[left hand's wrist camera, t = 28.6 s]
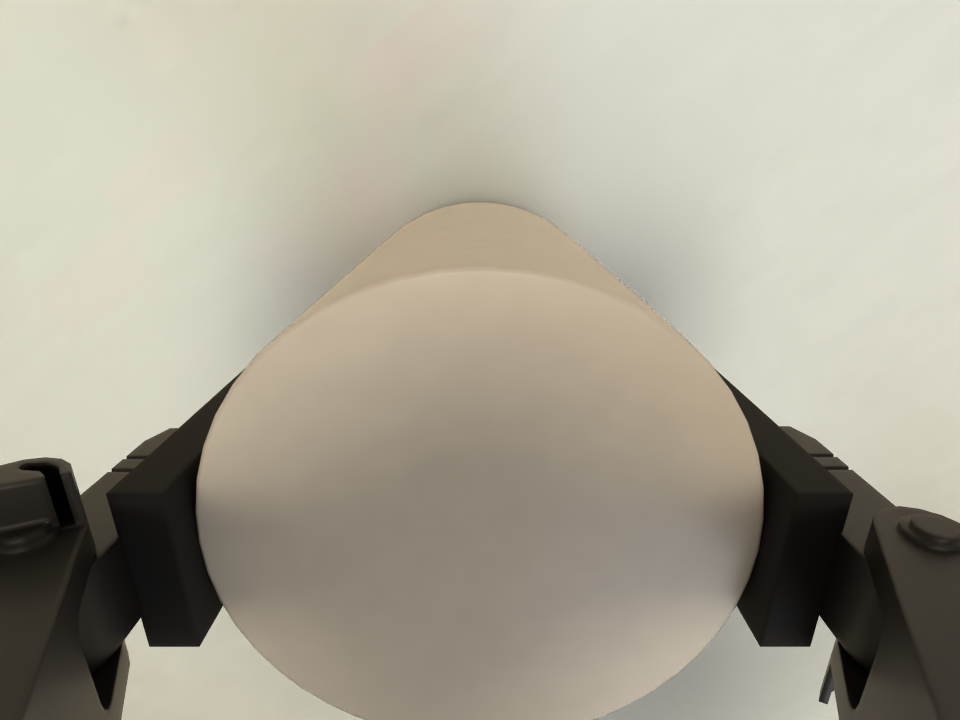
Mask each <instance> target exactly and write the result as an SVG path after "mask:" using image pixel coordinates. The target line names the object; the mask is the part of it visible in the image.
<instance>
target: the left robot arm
mask: <svg viewBox="0 0 960 720" xmlns="http://www.w3.org/2000/svg"><path fill="white" fill-rule="evenodd" d="M245 369H246V368H245ZM245 369H244V370H245ZM244 370H243V371H244ZM243 371H242V372H243ZM716 371H717V370H716ZM242 372H241V373H240V374H239V375H237V376H236V377H235V378H234V379H233V380H232V381H231V382H230V383H229V384H227V385H226V386H225V387H224V388H223V389H222V390H221V391H220V392H219V393H217V394H216V395H215V396H214V397H213V398H212V399H211V400H210V401H209V402H207V403H206V404H205V405H204V406H203V407H202V408H201V409H200V410H199V411H197V412H196V413H195V414H194V415H193V416H192V417H191V418H190V419H189V420H187V421H186V422H185V423H184V424H183V425H182V426H181V427H180V428H170V429H168V430H166V431H164V432H162V433H160V434H158V435H156V436H154V437H152V438H150V439H148V440H146V441H144V442H143V443H142V444H141V445H140V446H138V447H137V448H136V449H135V450H134V451H132V452H131V453H130V454H129V455H128V456H127V459H123V460H122V461H121V462H119V463H118V464H117V465H116V466H115V467H113V468H112V472H108V473H106V474H105V475H104V476H103V477H102V478H100V479H99V480H98V481H97V482H96V483H95V484H93V485H92V486H91V487H90V488H89V489H87V490H86V491H85V492H84V493H83V494H82V495H80V493H79V490H78V487H77V483H76V480H75V477H74V474H73V470H72V467H71V464H70V463H68V462H66V461H64V460H63V459H57V458H46V457H45V458H36V459H27V460H21V461H17V462H13V463H9V464H5V465H1V466H0V720H121V717H122V710H123V704H124V698H125V691H126V685H127V679H128V672H129V666H130V662H129V655H128V650H127V647H126V644H125V641H124V640H125V638H126V637H127V635H128V634H129V633H130V631H131V630H132V629H133V627H134V626H135V625H136V623H137V622H138V621H139V619H140V618H141V619H142V622H143V626H144V629H145V633H146V636H147V640H148V643H149V647H199V646H200V645H201V643H202V641H203V639H204V638H205V636H206V634H207V632H208V631H209V629H210V627H211V626H212V624H213V622H214V620H215V619H216V617H217V615H218V613H219V612H220V610H221V608H222V606H223V604H222V602H221V601H220V599H219V597H218V595H217V592H216V590H215V588H214V586H213V583H212V581H211V579H210V577H209V575H208V572H207V569H206V565H205V562H204V558H203V555H202V551H201V547H200V544H199V537H198V529H197V521H196V485H197V475H198V470H199V465H200V461H201V456H202V451H203V446H204V443H205V441H206V438H207V435H208V433H209V430H210V427H211V425H212V422H213V420H214V417H215V414H216V413H217V411H218V409H219V407H220V406H221V404H222V402H223V400H224V399H225V397H226V395H227V394H228V392H229V390H230V388H231V387H232V385H233V383H234V382H235V381H236V380H237V378H238V377H239V376H240V375H241V374H242ZM717 373H718V374H719V375H720V377H721V378H722V379H723V381H724V382H725V383H726V385H727V386H728V387H729V389H730V390H731V392H732V394H733V395H734V397H735V399H736V401H737V403H738V405H739V407H740V409H741V411H742V412H743V414H744V416H745V418H746V420H747V422H748V425H749V428H750V431H751V434H752V437H753V440H754V443H755V446H756V449H757V452H758V456H759V462H760V468H761V474H762V481H763V487H764V520H763V526H762V533H761V539H760V545H759V551H758V554H757V557H756V560H755V563H754V566H753V569H752V572H751V576H750V579H749V581H748V583H747V585H746V587H745V589H744V591H743V593H742V595H741V597H740V599H739V601H738V603H737V607H738V609H739V610H740V612H741V614H742V616H743V617H744V619H745V621H746V623H747V624H748V626H749V628H750V630H751V631H752V633H753V635H754V637H755V638H756V640H757V642H758V644H759V645H760V647H810V645H811V642H812V638H813V635H814V631H815V628H816V624H817V621H818V617H819V615H820V617H821V618H822V619H823V621H824V622H825V623H826V625H827V626H828V628H829V629H830V630H831V632H832V633H833V634H834V636H835V637H836V641H835V644H834V647H833V650H832V654H831V657H830V660H829V664H828V667H827V670H826V673H825V677H824V680H823V683H822V686H821V690H820V696H819V702H822V703H825V704H828V701H829V698H830V695H831V692H832V691H834V690H835V696H836V702H837V709H838V715H839V720H960V523H958V522H956V521H954V520H951V519H949V518H947V517H944V516H942V515H939V514H935V513H932V512H928V511H925V510H921V509H916V508H908V507H900V506H897V507H896V506H894V505H893V504H892V503H891V502H890V501H889V500H887V499H886V498H885V497H884V496H883V495H881V494H880V493H879V492H878V491H877V490H875V489H874V488H873V487H872V486H871V485H869V484H868V483H867V482H866V481H865V480H863V479H862V478H861V477H860V476H859V475H858V474H856V473H855V472H854V471H853V470H849V469H848V466H847V465H846V464H844V463H843V462H842V461H841V460H840V459H838V458H837V457H833V454H832V453H831V452H830V451H829V450H828V449H826V448H825V447H824V446H823V445H822V444H821V443H819V442H818V441H817V440H816V439H814V438H812V437H810V436H808V435H806V434H804V433H802V432H800V431H798V430H796V429H794V428H792V427H790V426H778V425H777V424H776V423H774V422H773V421H772V420H771V419H770V418H769V417H768V416H767V415H766V414H764V413H763V412H762V411H761V410H760V409H759V408H758V407H757V406H756V405H754V404H753V403H752V402H751V401H750V400H749V399H748V398H747V397H745V396H744V395H743V394H742V393H741V392H740V391H739V390H738V389H737V388H735V387H734V386H733V385H732V384H731V383H730V382H729V381H728V380H727V379H725V378H724V377H723V376H722V375H721V374H720V373H719V372H718V371H717Z"/></svg>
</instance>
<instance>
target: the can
mask: <svg viewBox="0 0 960 720" xmlns="http://www.w3.org/2000/svg"><path fill="white" fill-rule="evenodd" d="M763 520H764V487H763V481H762V474H761V468H760V462H759V456H758V452H757V449H756V446H755V443H754V440H753V437H752V434H751V431H750V428H749V425H748V422H747V420H746V418H745V416H744V414H743V412H742V411H741V409H740V407H739V405H738V403H737V401H736V399H735V397H734V395H733V394H732V392H731V390H730V389H729V387H728V386H727V385H726V383H725V382H724V381H723V379H722V378H721V377H720V375H719V374H718V373H717V371H716V370H715V369H714V367H713V366H712V365H711V363H710V362H709V361H708V360H707V359H706V358H705V357H704V356H703V355H702V354H701V353H700V352H699V351H698V350H697V349H696V348H695V347H694V346H693V345H692V344H691V343H690V342H688V341H687V340H686V339H685V338H684V337H683V336H682V335H681V334H680V333H679V332H678V331H677V330H676V329H674V328H673V327H672V326H671V325H670V324H669V323H668V322H666V321H665V320H664V319H663V318H662V317H661V316H659V315H658V314H657V313H656V312H655V311H654V310H653V309H651V308H650V307H649V306H648V305H647V304H646V303H645V302H643V301H642V300H641V299H640V298H639V297H638V296H637V295H635V294H634V293H633V292H632V291H631V290H630V289H629V288H627V287H626V286H625V285H624V284H623V283H622V282H621V281H619V280H618V279H617V278H616V277H615V276H614V275H613V274H611V273H610V272H609V271H608V270H607V269H606V268H604V267H603V266H602V265H601V264H600V263H599V262H598V261H596V260H595V259H594V258H593V257H592V256H591V255H590V254H588V253H587V252H586V251H585V250H584V249H583V248H582V247H580V246H579V245H578V244H577V243H576V242H575V241H574V240H572V239H571V238H570V237H569V236H568V235H567V234H566V233H564V232H563V231H562V230H560V229H559V228H557V227H556V226H555V225H553V224H552V223H551V222H549V221H547V220H545V219H543V218H541V217H539V216H538V215H536V214H533V213H531V212H528V211H525V210H523V209H520V208H517V207H512V206H508V205H504V204H497V203H485V202H476V203H462V204H457V205H451V206H446V207H443V208H440V209H437V210H434V211H431V212H428V213H426V214H424V215H422V216H420V217H418V218H416V219H414V220H412V221H411V222H409V223H408V224H406V225H405V226H403V227H402V228H401V229H399V230H398V231H397V232H395V233H394V234H393V235H392V236H391V237H390V238H389V239H387V240H386V241H385V242H384V243H383V244H382V245H381V246H379V247H378V248H377V249H376V250H375V251H374V252H373V253H371V254H370V255H369V256H368V257H367V258H366V259H365V260H363V261H362V262H361V263H360V264H359V265H358V266H357V267H355V268H354V269H353V270H352V271H351V272H350V273H349V274H347V275H346V276H345V277H344V278H343V279H342V280H341V281H339V282H338V283H337V284H336V285H335V286H334V287H333V288H331V289H330V290H329V291H328V292H327V293H326V294H325V295H323V296H322V297H321V298H320V299H319V300H318V301H317V302H315V303H314V304H313V305H312V306H311V307H310V308H309V309H307V310H306V311H305V312H304V313H303V314H302V315H301V316H299V317H298V318H297V319H296V320H295V321H294V322H293V323H291V324H290V325H289V326H288V327H287V328H286V329H285V330H283V331H282V332H281V333H280V334H279V335H278V336H277V337H276V338H275V339H274V340H272V341H271V342H270V343H269V344H268V345H267V346H266V347H265V348H264V349H263V350H261V351H260V352H259V353H258V354H257V355H256V356H255V357H254V359H253V360H252V361H251V362H250V364H249V365H248V366H247V367H246V369H245V370H244V371H243V372H242V374H241V375H240V376H239V377H238V378H237V380H236V381H235V382H234V383H233V385H232V387H231V388H230V390H229V392H228V394H227V395H226V397H225V399H224V400H223V402H222V404H221V406H220V407H219V409H218V411H217V413H216V414H215V417H214V420H213V422H212V425H211V427H210V430H209V433H208V435H207V438H206V441H205V443H204V446H203V451H202V456H201V461H200V465H199V470H198V475H197V485H196V521H197V529H198V537H199V544H200V547H201V551H202V555H203V558H204V562H205V565H206V569H207V572H208V575H209V577H210V579H211V581H212V583H213V586H214V588H215V590H216V592H217V595H218V597H219V599H220V601H221V602H222V604H223V606H224V607H225V609H226V610H227V612H228V614H229V615H230V617H231V618H232V620H233V622H234V623H235V625H236V626H237V627H238V629H239V630H240V631H241V632H242V633H243V635H244V636H245V637H246V638H247V639H248V641H249V642H250V643H251V644H252V646H253V647H254V648H255V649H256V650H257V651H258V652H259V653H260V654H261V655H262V656H263V657H264V658H265V659H267V660H268V661H269V662H270V663H271V664H272V665H273V666H274V667H275V668H276V669H277V670H278V671H280V672H281V673H282V674H284V675H285V676H286V677H288V678H289V679H290V680H292V681H293V682H294V683H296V684H297V685H298V686H300V687H301V688H303V689H304V690H306V691H308V692H309V693H311V694H313V695H314V696H316V697H318V698H319V699H321V700H323V701H325V702H326V703H328V704H330V705H332V706H334V707H337V708H339V709H341V710H343V711H345V712H347V713H350V714H352V715H354V716H356V717H359V718H362V719H365V720H595V719H598V718H600V717H603V716H605V715H607V714H610V713H612V712H614V711H616V710H619V709H621V708H623V707H626V706H627V705H629V704H631V703H633V702H635V701H636V700H638V699H640V698H642V697H643V696H645V695H647V694H649V693H651V692H652V691H654V690H655V689H657V688H658V687H659V686H661V685H662V684H664V683H665V682H666V681H668V680H669V679H671V678H672V677H673V676H675V675H676V674H677V673H679V672H680V671H681V670H682V669H683V668H684V667H685V666H686V665H687V664H689V663H690V662H691V661H692V660H693V659H694V658H695V657H696V656H698V655H699V654H700V653H701V651H702V650H703V649H704V648H705V647H706V646H707V645H708V643H709V642H710V641H711V640H712V639H713V638H714V637H715V635H716V634H717V633H718V632H719V631H720V629H721V628H722V626H723V625H724V623H725V622H726V620H727V619H728V617H729V616H730V614H731V613H732V611H733V610H734V608H735V607H736V605H737V603H738V601H739V599H740V597H741V595H742V593H743V591H744V589H745V587H746V585H747V583H748V581H749V579H750V576H751V572H752V569H753V566H754V563H755V560H756V557H757V554H758V551H759V545H760V539H761V533H762V526H763Z"/></svg>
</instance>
